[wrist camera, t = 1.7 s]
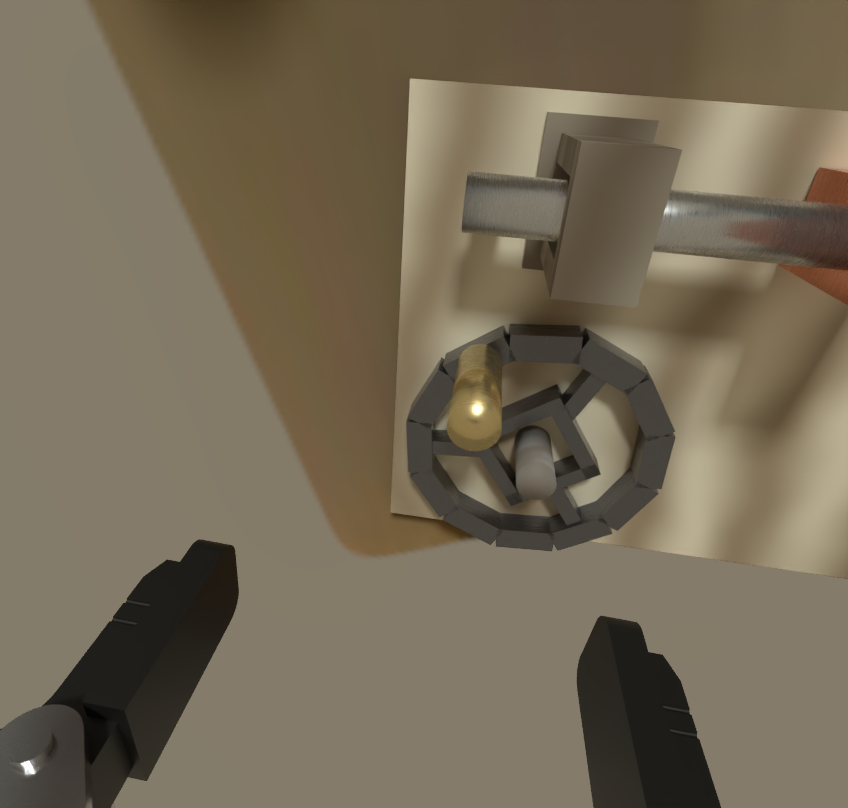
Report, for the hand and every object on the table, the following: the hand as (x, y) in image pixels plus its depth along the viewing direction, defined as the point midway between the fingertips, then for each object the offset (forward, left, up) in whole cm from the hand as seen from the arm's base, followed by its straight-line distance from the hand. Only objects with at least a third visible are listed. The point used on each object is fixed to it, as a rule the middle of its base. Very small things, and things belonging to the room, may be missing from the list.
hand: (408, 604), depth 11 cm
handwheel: (-5, +7, -18) cm, 19 cm away
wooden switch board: (-12, +2, -19) cm, 22 cm away
